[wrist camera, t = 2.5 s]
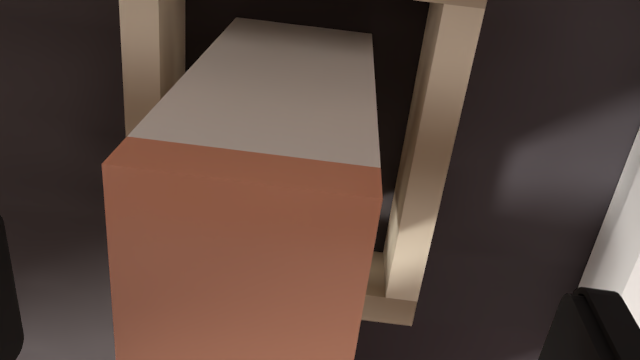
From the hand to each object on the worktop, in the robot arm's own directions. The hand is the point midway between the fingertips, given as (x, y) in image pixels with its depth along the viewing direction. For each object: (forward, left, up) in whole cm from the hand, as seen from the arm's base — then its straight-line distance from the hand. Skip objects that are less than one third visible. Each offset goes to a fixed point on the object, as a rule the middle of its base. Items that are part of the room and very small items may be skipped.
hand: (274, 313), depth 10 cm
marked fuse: (0, +1, -10) cm, 10 cm away
